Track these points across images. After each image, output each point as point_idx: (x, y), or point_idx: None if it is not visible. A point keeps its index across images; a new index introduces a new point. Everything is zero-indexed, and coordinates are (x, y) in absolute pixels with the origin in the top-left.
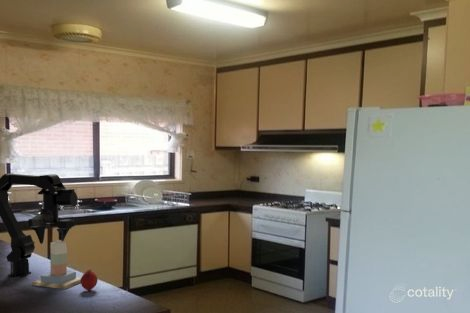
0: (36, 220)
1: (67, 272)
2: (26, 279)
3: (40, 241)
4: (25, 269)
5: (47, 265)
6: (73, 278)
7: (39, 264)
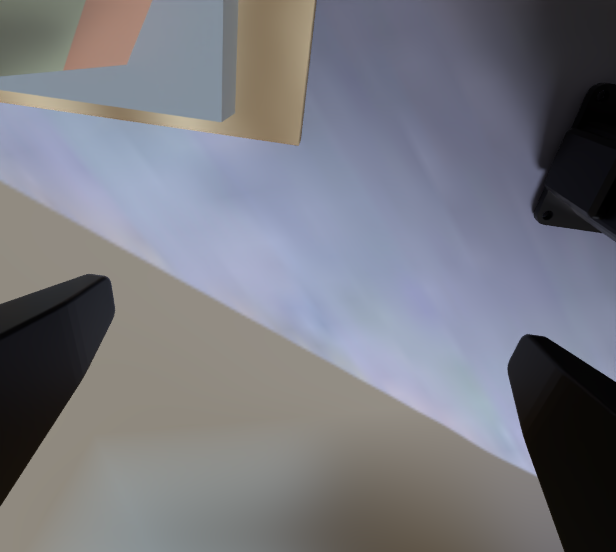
0: None
1: None
2: (499, 29)
3: (554, 354)
4: (583, 151)
5: (493, 395)
6: None
7: None
